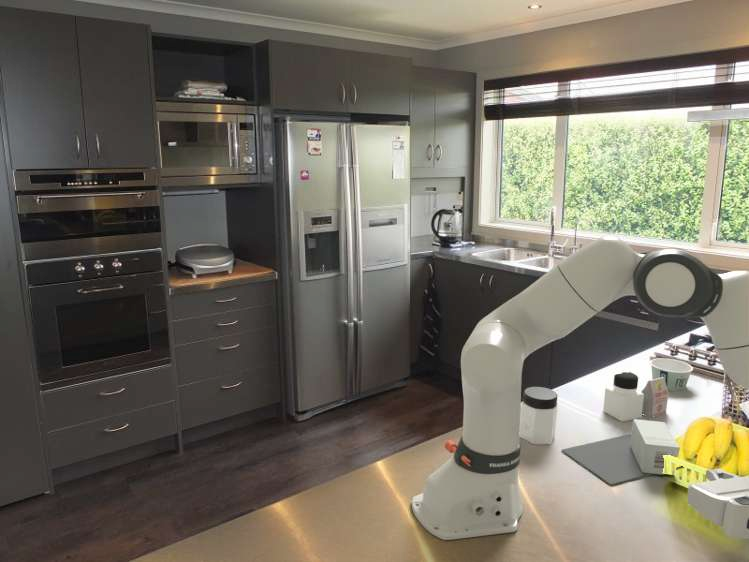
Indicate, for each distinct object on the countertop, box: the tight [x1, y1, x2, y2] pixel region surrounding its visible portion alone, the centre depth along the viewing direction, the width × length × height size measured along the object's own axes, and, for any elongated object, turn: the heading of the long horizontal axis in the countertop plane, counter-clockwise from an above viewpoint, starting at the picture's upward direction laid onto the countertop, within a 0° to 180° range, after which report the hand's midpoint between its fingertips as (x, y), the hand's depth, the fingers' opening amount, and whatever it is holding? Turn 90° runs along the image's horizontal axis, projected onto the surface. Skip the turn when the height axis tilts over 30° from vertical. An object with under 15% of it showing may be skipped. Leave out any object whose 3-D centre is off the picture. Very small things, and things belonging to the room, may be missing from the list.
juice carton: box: [640, 377, 669, 419], centre depth 162 cm, size 4×7×10 cm, turn 119°
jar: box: [519, 386, 558, 445], centre depth 147 cm, size 9×8×12 cm
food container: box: [649, 357, 694, 391], centre depth 182 cm, size 12×12×6 cm
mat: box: [561, 433, 654, 487], centre depth 138 cm, size 22×16×1 cm
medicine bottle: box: [602, 370, 644, 423], centre depth 160 cm, size 7×7×12 cm
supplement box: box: [630, 418, 681, 476], centre depth 136 cm, size 7×7×13 cm
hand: (712, 472), depth 114 cm, fingers closed
